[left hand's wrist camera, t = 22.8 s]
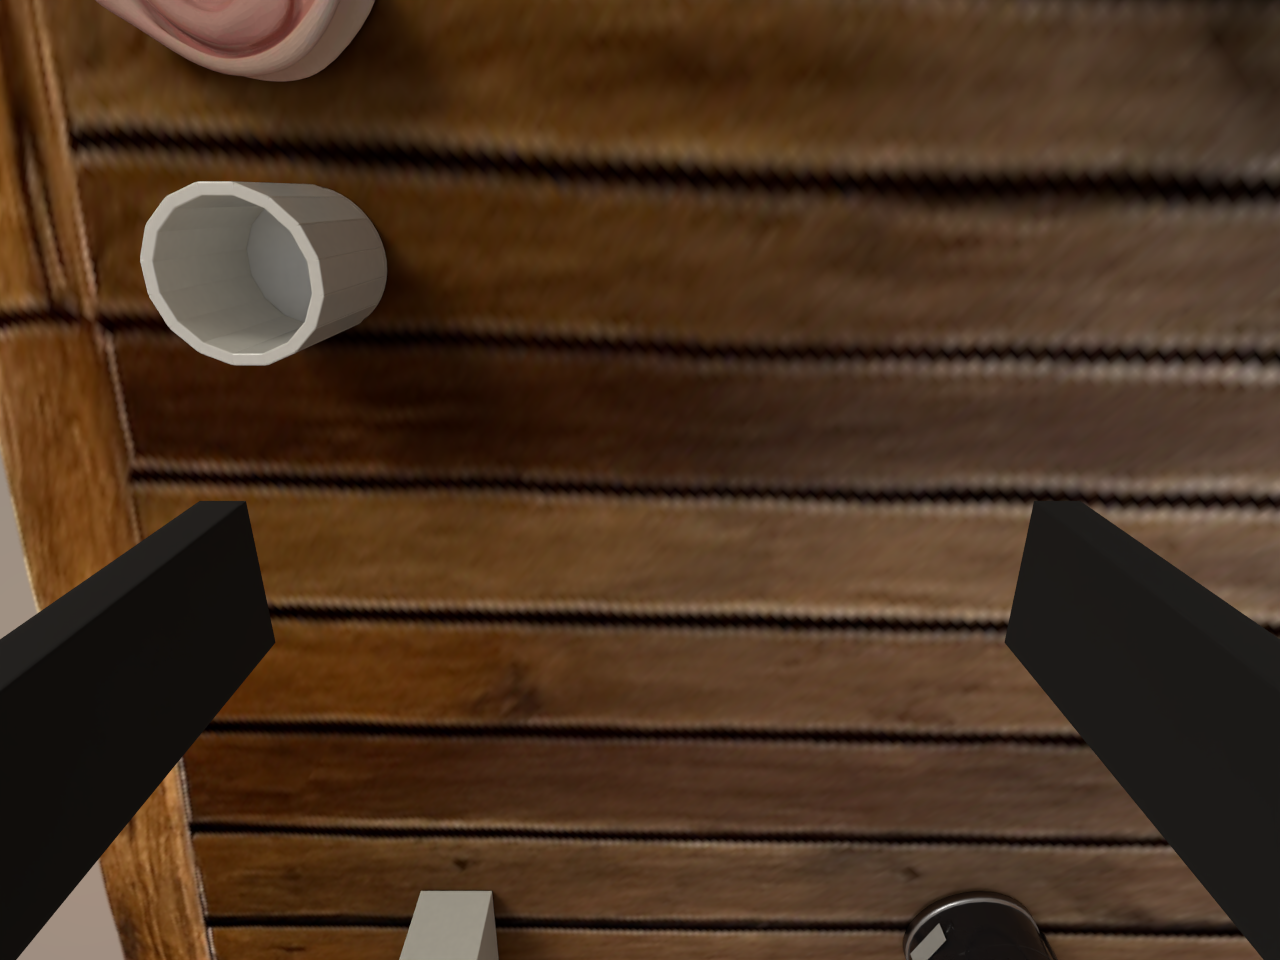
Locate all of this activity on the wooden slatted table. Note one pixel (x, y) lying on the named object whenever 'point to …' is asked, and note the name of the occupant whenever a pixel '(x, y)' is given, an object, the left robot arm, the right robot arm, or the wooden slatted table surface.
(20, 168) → the wooden slatted table surface
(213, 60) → the anatomical model
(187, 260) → the white cup
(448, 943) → the grey bar
